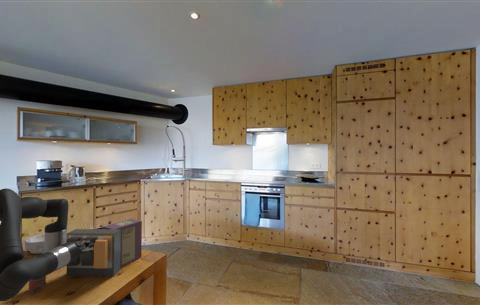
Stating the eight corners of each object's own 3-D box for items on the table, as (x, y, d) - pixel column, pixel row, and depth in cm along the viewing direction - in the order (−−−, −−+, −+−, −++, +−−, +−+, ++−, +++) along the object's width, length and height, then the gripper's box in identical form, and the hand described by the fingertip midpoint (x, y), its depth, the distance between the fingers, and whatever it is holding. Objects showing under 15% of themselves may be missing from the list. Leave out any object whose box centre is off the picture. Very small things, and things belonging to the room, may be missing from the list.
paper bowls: (18, 253, 135) (18, 239, 135) (48, 244, 149) (48, 231, 150) (34, 258, 130) (34, 243, 130) (64, 248, 144) (64, 234, 144)
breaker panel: (62, 278, 108) (63, 234, 109) (75, 269, 117) (75, 229, 117) (111, 279, 109) (111, 235, 109) (120, 270, 117) (120, 229, 117)
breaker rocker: (93, 268, 106) (94, 241, 106) (97, 265, 109) (97, 239, 109) (105, 268, 106) (105, 241, 106) (108, 265, 109) (108, 239, 109)
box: (113, 270, 117) (113, 229, 117) (101, 266, 121) (102, 226, 121) (141, 257, 132) (141, 221, 132) (130, 253, 136) (130, 218, 136)
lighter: (40, 283, 105) (40, 260, 105) (48, 282, 105) (48, 260, 105) (25, 294, 97) (25, 269, 97) (34, 293, 97) (34, 269, 97)
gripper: (77, 246, 84) (108, 231, 101) (42, 245, 85) (79, 230, 103) (77, 268, 84) (108, 249, 101) (42, 266, 85) (79, 248, 102)
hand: (93, 240), depth 102 cm, fingers closed
